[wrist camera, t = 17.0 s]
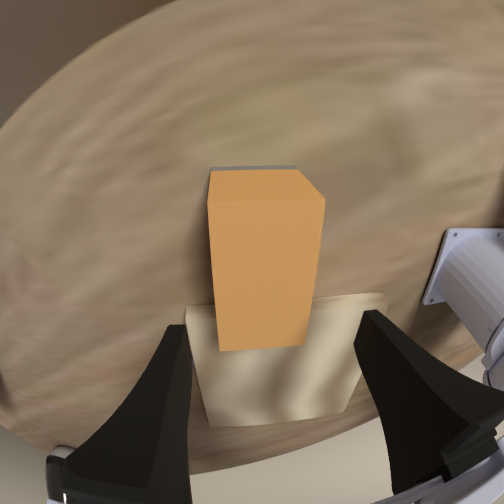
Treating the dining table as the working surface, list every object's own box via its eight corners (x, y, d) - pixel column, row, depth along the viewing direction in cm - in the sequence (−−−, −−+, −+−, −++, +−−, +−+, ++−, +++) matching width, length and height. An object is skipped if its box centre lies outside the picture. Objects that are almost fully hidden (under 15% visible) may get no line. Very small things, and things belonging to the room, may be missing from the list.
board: (382, 291, 24) (389, 302, 22) (339, 402, 33) (342, 412, 31) (186, 305, 22) (185, 319, 21) (209, 416, 31) (209, 427, 30)
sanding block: (294, 165, 18) (325, 200, 12) (286, 285, 22) (304, 344, 17) (211, 166, 17) (207, 202, 12) (218, 288, 22) (219, 351, 17)
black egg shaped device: (88, 447, 37) (78, 520, 24) (105, 465, 42) (99, 528, 29) (41, 434, 36) (27, 501, 23) (62, 454, 41) (53, 513, 28)
